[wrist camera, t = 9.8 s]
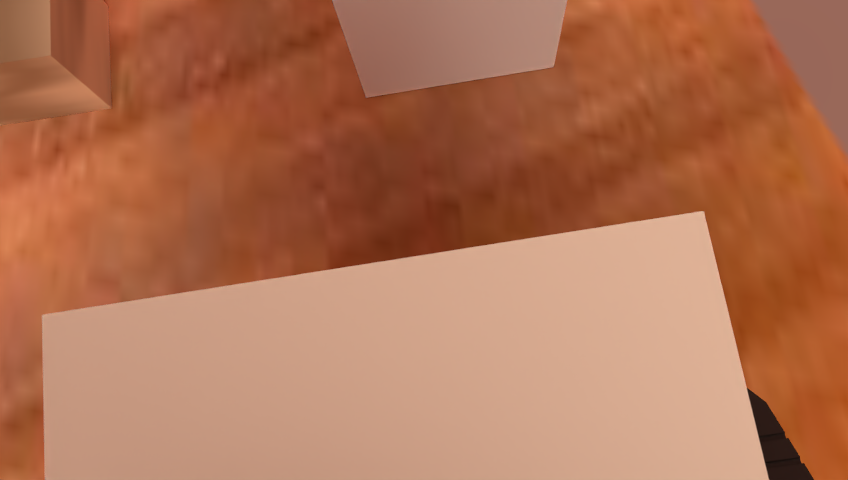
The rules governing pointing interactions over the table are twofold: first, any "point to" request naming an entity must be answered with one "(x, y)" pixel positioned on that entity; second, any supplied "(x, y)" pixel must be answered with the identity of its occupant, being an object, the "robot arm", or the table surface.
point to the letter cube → (53, 59)
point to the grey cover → (447, 40)
